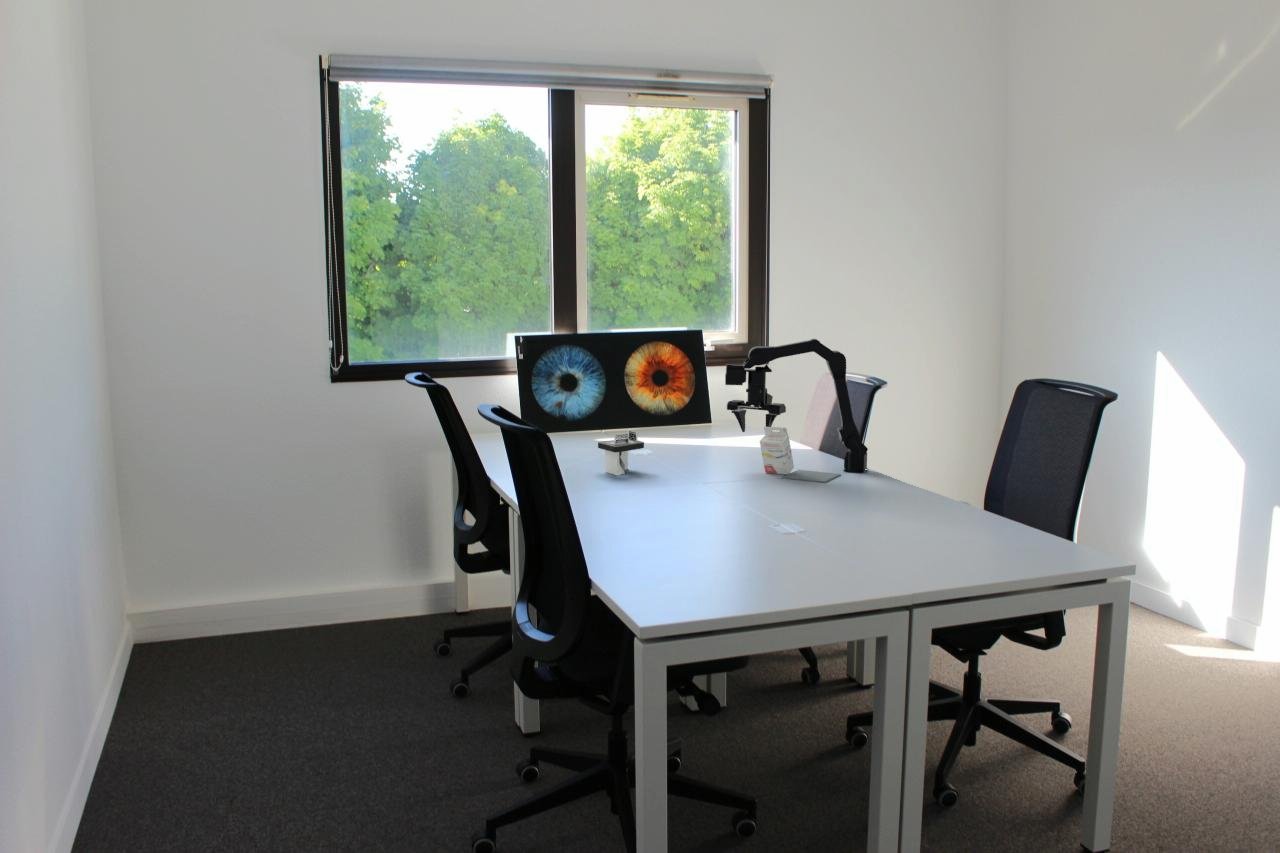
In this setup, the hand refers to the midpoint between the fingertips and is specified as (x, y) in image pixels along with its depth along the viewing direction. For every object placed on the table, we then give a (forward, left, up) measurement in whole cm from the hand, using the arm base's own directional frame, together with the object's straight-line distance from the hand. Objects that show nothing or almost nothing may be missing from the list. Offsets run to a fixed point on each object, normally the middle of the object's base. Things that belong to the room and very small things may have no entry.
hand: (755, 433), depth 355 cm
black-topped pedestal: (+36, +25, -13) cm, 45 cm away
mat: (-20, +1, -12) cm, 24 cm away
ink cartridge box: (-9, +1, -12) cm, 15 cm away
